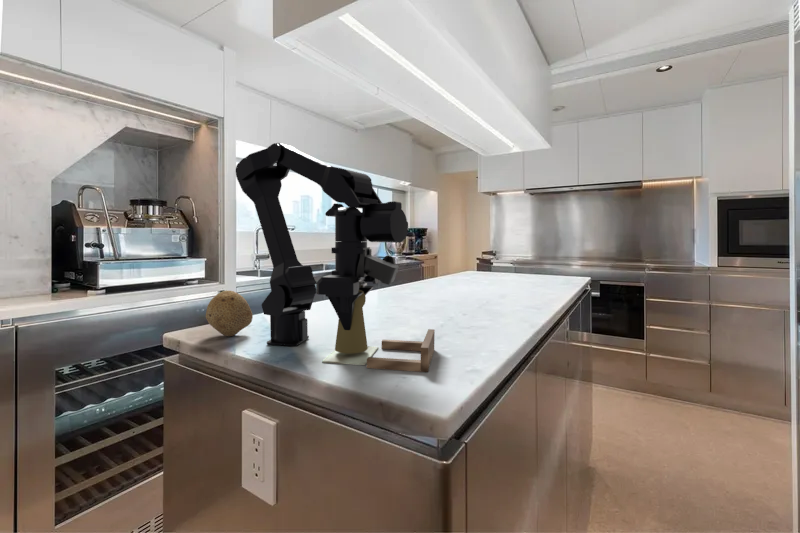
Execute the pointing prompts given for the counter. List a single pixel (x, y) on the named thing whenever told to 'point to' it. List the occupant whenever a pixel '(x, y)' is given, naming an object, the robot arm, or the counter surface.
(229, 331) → the natural sponge
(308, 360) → the counter surface
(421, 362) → the wooden frame with plate
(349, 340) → the cork
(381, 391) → the counter surface
